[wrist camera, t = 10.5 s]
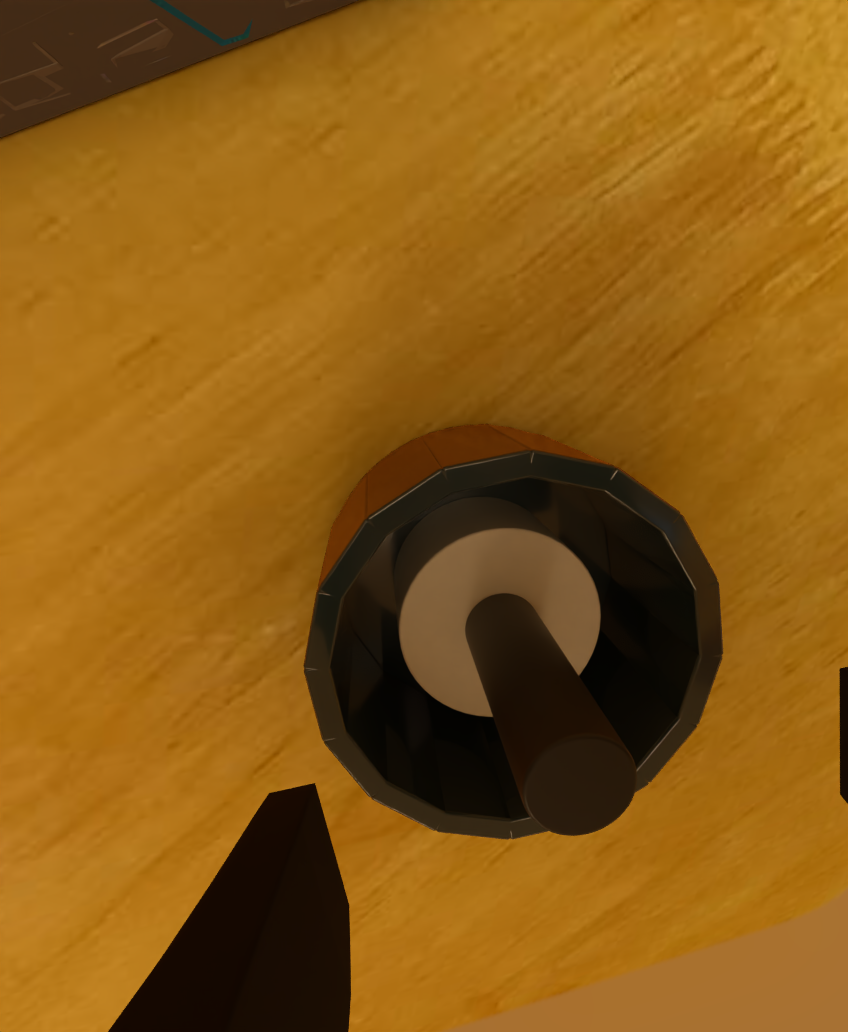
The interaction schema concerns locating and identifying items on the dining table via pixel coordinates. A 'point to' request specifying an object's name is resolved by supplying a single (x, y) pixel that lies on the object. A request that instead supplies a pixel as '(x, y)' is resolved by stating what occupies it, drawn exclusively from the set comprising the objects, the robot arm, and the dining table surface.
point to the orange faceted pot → (608, 674)
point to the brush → (515, 653)
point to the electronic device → (119, 45)
